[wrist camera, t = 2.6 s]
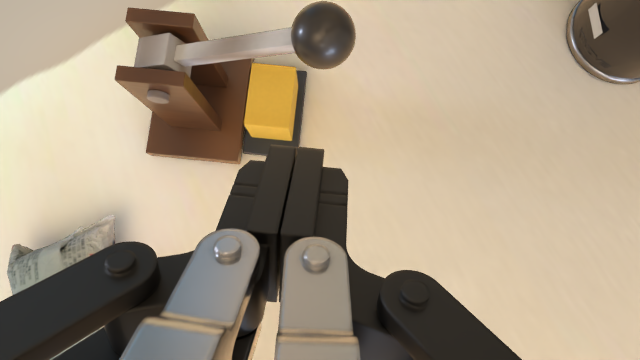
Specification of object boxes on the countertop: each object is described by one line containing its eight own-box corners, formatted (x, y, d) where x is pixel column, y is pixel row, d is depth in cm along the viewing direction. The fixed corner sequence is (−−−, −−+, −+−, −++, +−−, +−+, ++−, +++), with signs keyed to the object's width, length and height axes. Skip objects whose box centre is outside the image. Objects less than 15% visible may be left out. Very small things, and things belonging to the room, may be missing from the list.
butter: (306, 73, 40) (305, 51, 36) (297, 158, 39) (294, 146, 34) (254, 68, 40) (246, 45, 36) (243, 153, 39) (233, 140, 34)
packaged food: (127, 217, 38) (97, 213, 33) (157, 355, 36) (131, 372, 31) (28, 246, 38) (-16, 245, 33) (54, 386, 36) (12, 408, 31)
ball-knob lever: (367, 18, 25) (343, -19, 22) (362, 76, 25) (336, 48, 22) (172, 47, 32) (133, 23, 29) (165, 94, 32) (123, 74, 29)
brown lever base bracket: (254, 58, 40) (227, -20, 29) (240, 164, 39) (205, 127, 27) (168, 50, 40) (106, -31, 29) (150, 155, 39) (78, 115, 27)
